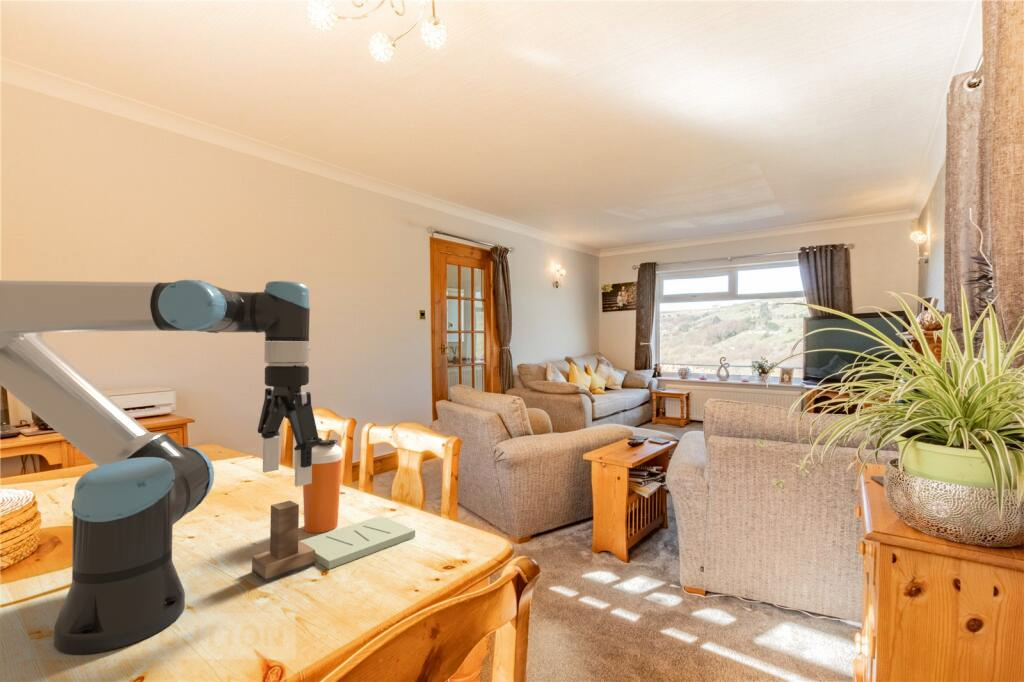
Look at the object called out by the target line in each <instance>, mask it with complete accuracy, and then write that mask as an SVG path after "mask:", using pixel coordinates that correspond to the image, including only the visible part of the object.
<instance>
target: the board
mask: <svg viewBox="0 0 1024 682" xmlns="http://www.w3.org/2000/svg"><path fill="white" fill-rule="evenodd" d="M415 537H416V530H415V529H413V528H411V527H409V526H406V525H403V524H401V523H399V522H397V521H395V520H392V519H390V518H388V517H385V516H383V515H380V516H378V515H377V516H376V517H373V518H369V519H366V520H363V521H360V522H356V523H354V524H350V525H346V526H342V527H340V528H337V529H333V530H330V531H327V532H323V533H321V534H318V535H314V536H311V537H309V538H305V539H301V540H298V542H299V541H301V542H303V543H304V544H306V545H308V546H309V547H311V548H313V549H314V550H315V562H316V563H319V564H320V565H322V566H323V567H325V568H327V569H328V570H330V569H333V568H336V567H339V566H341V565H344V564H347V563H349V562H352V561H354V560H357V559H360V558H363V557H365V556H367V555H370V554H374V553H377V552H379V551H381V550H385V549H386V548H390V547H392V546H395V545H397V544H401V543H403V542H405V541H409V540H411V539H414V538H415Z"/></svg>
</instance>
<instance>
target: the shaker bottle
mask: <svg viewBox="0 0 1024 682" xmlns="http://www.w3.org/2000/svg"><path fill="white" fill-rule="evenodd" d="M336 443H338V440H337V439H323V438H322V437H319V445H316V446H314V447H312V483H311V484H306V485H302V495H303V523H304V527H303V528H304V531H306V532H307V533H310V534H311V533H312V534H319V533H321V534H323V533H327V532H330V531H333V530H335V529H336V528H337V527H338V524H339V523H338V521H339V520H338V519H339V503H340V491H341V489H340V488H341V471H342V459H343V458H344V457H343V449H342V448H341V447H340V446H339V445H337V444H336Z"/></svg>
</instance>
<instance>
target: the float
mask: <svg viewBox="0 0 1024 682" xmlns="http://www.w3.org/2000/svg"><path fill="white" fill-rule="evenodd" d="M299 509H300V505H299V504H298V503H296V502H295V501H292V500H286V501H282V502H278V503H274V504H270V530H269V531H270V534H269V535H270V536H269V537H270V539H269V541H270V542H269V550H268V551H264V552H262V553H258V554H254V555H252V556H251V573H252V574H253V575H254V576H255V577H257V578H259V580H261V581H262V582H263V583H265V584H267V583H271V582H273V581H275V580H278V579H281V578H283V577H286V576H289V575H293V574H296V573H298V572H300V571H304V570H306V569H308V568H311V567H314V566H316V561H315V550H314V549H313V548H311V547H309V546H308V545H306V544H304V543H303V542H301V540H299V524H300V523H299V520H300V519H299V518H300V517H299V516H300V514H299V513H300V510H299ZM298 541H299V542H298Z"/></svg>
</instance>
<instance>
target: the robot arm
mask: <svg viewBox="0 0 1024 682" xmlns="http://www.w3.org/2000/svg"><path fill="white" fill-rule="evenodd" d="M264 288H265V289H264V290H263V291H257V292H256V291H255V292H250V291H249V292H248V291H232V290H228V289H225V288H221V287H218V286H216V285H213V284H211V283H209V282H206V281H203V280H197V279H196V280H195V279H180V280H177V281H174V282H162V281H161V282H160V281H159V282H158V281H153V282H152V281H151V282H150V281H89V280H88V281H86V280H85V281H77V280H76V281H75V280H74V281H71V280H70V281H69V280H67V281H66V280H0V386H2V388H4V389H5V390H6V391H7V392H9V393H10V394H11V395H12V396H13V397H14V398H15V399H17V400H18V401H19V402H20V403H22V404H23V405H24V406H26V407H27V409H29V410H30V411H31V412H32V413H34V414H35V415H36V416H37V417H39V418H40V419H41V420H42V421H43V422H45V423H46V424H47V425H48V426H49V427H50V428H52V429H53V430H54V431H55V432H56V433H57V434H59V435H60V436H62V438H63V439H65V440H66V441H67V442H68V443H70V444H71V445H72V446H74V448H76V449H77V450H78V451H79V452H81V454H82V455H84V456H85V457H86V458H88V460H90V461H91V462H92V463H94V464H95V465H96V467H95V468H93V469H91V470H89V471H87V472H85V473H84V474H83V475H82V476H80V478H78V480H77V481H76V483H75V485H74V492H73V494H74V495H73V498H72V500H71V511H72V553H71V554H72V555H71V556H72V557H71V560H72V561H71V567H72V570H71V571H72V574H71V575H72V576H71V577H72V578H71V585H70V587H69V590H68V592H67V594H66V596H65V599H64V602H63V604H62V607H61V609H60V612H59V614H58V617H57V619H56V622H55V624H54V629H53V646H54V647H55V648H56V649H57V650H58V651H60V652H62V653H65V654H75V655H81V654H82V655H86V654H93V653H94V654H95V653H101V652H106V651H111V650H114V649H119V648H122V647H125V646H129V645H132V644H134V643H137V642H139V641H142V640H144V639H146V638H149V637H151V636H153V635H155V634H157V633H158V632H161V631H162V630H165V628H167V627H169V626H170V625H171V624H173V623H174V622H175V621H177V620H178V618H180V616H181V615H182V614H183V613H184V611H185V604H186V603H185V601H186V600H185V599H186V597H185V595H186V594H185V589H184V586H183V584H182V582H181V578H180V577H179V574H178V572H177V570H176V567H175V565H174V562H173V526H174V525H175V524H176V523H177V522H179V521H180V520H181V519H182V518H183V517H185V516H186V515H188V513H191V512H192V511H194V510H195V509H196V508H197V507H199V505H201V504H202V502H203V501H204V499H205V498H206V497H207V496H208V495H209V493H210V492H211V489H212V487H213V485H214V480H215V470H214V466H213V464H212V461H211V459H210V458H209V457H208V456H207V455H206V453H204V452H203V451H201V449H198V448H196V447H192V446H184V445H182V446H181V445H180V444H179V443H178V442H176V440H174V438H172V437H171V436H169V434H167V433H166V432H151V431H149V430H148V429H147V428H146V427H145V426H143V425H142V424H141V423H140V422H139V421H137V419H135V418H134V416H132V415H131V414H129V412H127V411H126V410H125V409H124V408H123V407H121V406H120V405H119V404H118V403H117V402H115V400H113V399H112V398H111V397H110V396H108V394H107V393H105V392H104V391H103V390H102V389H101V388H100V387H98V386H97V385H96V384H95V383H93V381H91V379H89V378H88V377H87V376H86V375H84V374H83V373H82V372H81V371H80V370H78V368H77V367H75V366H74V365H73V364H72V363H71V362H69V360H67V358H65V357H64V356H62V355H61V354H60V353H59V351H57V350H56V349H54V348H53V347H52V346H51V345H50V344H49V343H47V341H46V340H44V339H43V334H44V333H73V332H74V333H75V332H76V333H82V332H84V333H86V332H87V333H88V332H152V331H153V332H155V331H159V332H161V331H162V332H163V331H166V332H167V331H168V332H187V331H188V332H192V331H193V332H196V331H197V332H201V333H204V332H205V333H209V334H211V333H212V334H213V333H214V334H218V333H256V334H257V333H264V360H263V361H264V363H266V364H267V365H266V367H264V385H265V386H267V388H265V389H264V400H263V404H262V408H261V413H260V419H259V421H258V426H257V433H258V434H261V438H263V439H262V473H269V472H274V471H279V464H280V459H279V457H280V437H279V436H281V434H280V432H279V430H280V427H281V425H282V423H283V420H284V418H285V419H287V420H288V423H289V425H290V428H291V430H292V434H293V436H294V439H295V442H296V446H294V448H293V449H294V486H295V487H301V486H302V487H303V485H306V484H311V483H312V447H314V446H316V445H319V438H320V437H319V433H318V428H317V424H316V420H315V415H314V410H313V406H312V394H311V391H302V388H301V387H302V386H306V385H308V384H309V383H310V377H309V376H310V367H309V366H308V365H306V363H308V362H310V361H309V357H310V355H309V354H310V351H311V347H310V315H311V314H310V312H311V306H310V295H309V294H310V293H309V292H310V291H309V287H308V286H307V285H306V284H304V283H302V282H298V281H297V282H296V281H289V280H288V281H287V280H285V281H284V280H278V281H275V280H272V281H268V282H266V284H265V287H264Z"/></svg>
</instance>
